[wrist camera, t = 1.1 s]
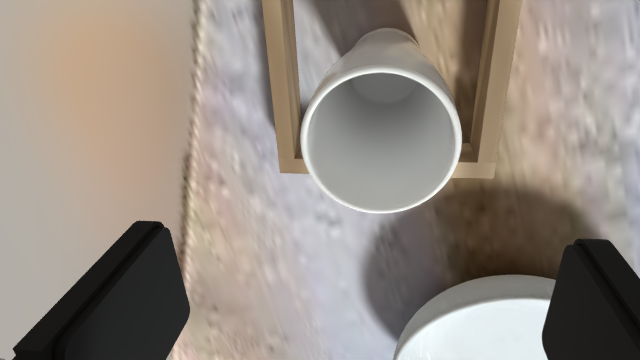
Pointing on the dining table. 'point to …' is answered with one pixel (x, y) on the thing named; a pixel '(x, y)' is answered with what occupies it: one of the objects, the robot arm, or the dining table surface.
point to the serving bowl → (481, 321)
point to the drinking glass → (382, 126)
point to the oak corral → (488, 101)
